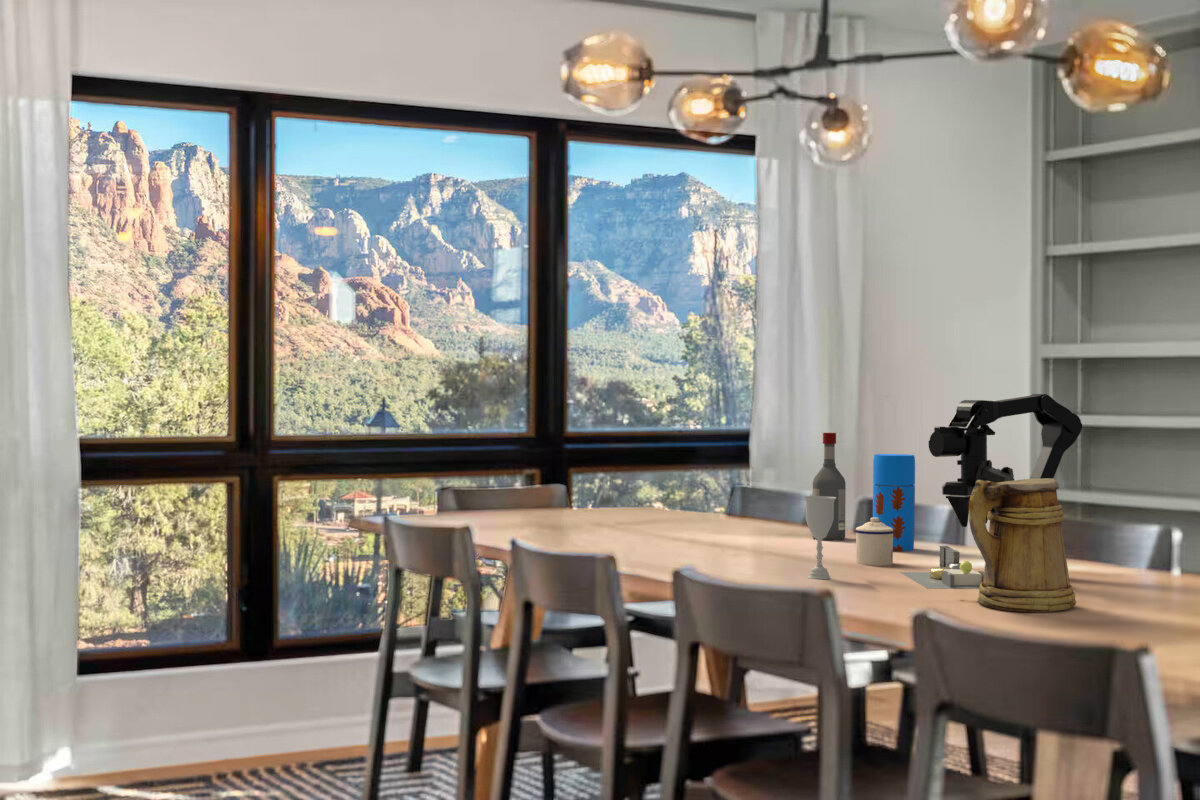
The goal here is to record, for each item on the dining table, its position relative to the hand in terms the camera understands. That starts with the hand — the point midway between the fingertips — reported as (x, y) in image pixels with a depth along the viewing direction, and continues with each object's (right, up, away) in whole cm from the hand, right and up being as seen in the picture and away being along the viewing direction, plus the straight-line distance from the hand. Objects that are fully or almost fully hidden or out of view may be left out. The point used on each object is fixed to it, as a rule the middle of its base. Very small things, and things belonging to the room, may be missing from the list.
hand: (974, 525), depth 317 cm
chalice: (-35, -12, -1) cm, 37 cm away
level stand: (-5, -12, -10) cm, 17 cm away
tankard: (-3, -12, -42) cm, 44 cm away
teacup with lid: (-19, -12, +21) cm, 31 cm away
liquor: (-20, -11, +82) cm, 85 cm away
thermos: (-6, -12, +57) cm, 58 cm away
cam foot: (-7, -11, -15) cm, 20 cm away
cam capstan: (-7, -11, -2) cm, 13 cm away
